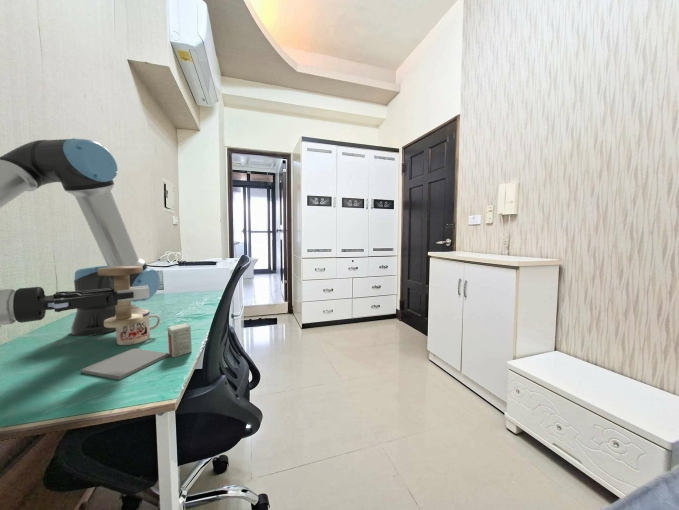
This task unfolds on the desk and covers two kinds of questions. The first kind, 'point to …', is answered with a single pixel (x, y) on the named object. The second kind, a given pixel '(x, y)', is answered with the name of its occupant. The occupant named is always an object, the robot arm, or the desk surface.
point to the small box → (179, 339)
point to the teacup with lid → (136, 328)
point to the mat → (124, 363)
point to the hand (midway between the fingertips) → (148, 291)
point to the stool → (123, 307)
